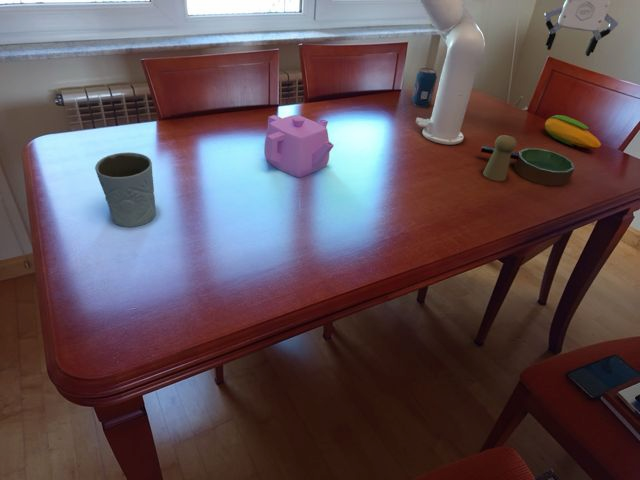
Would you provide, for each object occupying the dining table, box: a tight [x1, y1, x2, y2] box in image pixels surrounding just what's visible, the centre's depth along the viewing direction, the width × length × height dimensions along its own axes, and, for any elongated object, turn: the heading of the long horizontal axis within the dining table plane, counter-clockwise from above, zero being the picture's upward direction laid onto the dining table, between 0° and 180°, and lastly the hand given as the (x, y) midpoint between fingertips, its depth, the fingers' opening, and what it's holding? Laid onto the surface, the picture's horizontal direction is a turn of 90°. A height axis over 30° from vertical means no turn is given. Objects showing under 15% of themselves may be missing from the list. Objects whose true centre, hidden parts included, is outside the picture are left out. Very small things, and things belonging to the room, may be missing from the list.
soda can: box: [411, 67, 438, 108], centre depth 156 cm, size 7×7×12 cm
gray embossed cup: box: [94, 152, 157, 228], centre depth 87 cm, size 10×10×12 cm
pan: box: [480, 144, 575, 187], centre depth 121 cm, size 24×14×4 cm, turn 69°
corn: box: [544, 114, 602, 150], centre depth 137 cm, size 7×8×20 cm
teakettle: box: [264, 114, 335, 178], centre depth 111 cm, size 17×17×12 cm
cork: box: [482, 134, 518, 182], centre depth 114 cm, size 6×6×11 cm
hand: (567, 52), depth 117 cm, fingers open, 9 cm apart
